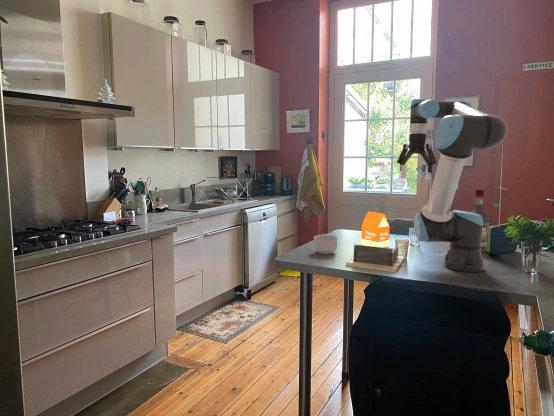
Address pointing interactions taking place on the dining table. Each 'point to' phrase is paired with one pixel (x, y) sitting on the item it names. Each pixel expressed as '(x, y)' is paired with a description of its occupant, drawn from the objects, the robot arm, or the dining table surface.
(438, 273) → the dining table surface
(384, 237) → the orange juice
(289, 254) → the dining table surface
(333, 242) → the teacup
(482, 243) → the liquor
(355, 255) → the keeper cradle
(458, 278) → the dining table surface
